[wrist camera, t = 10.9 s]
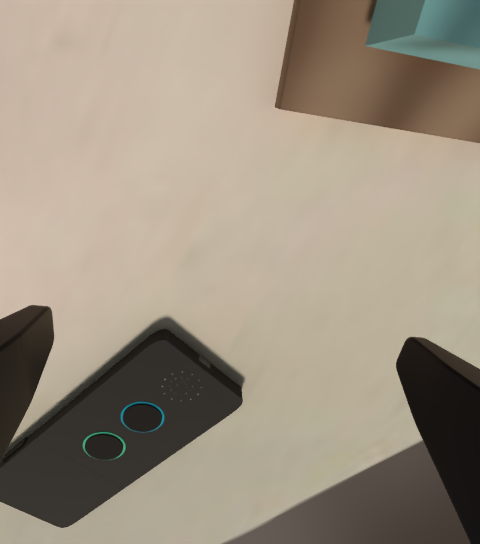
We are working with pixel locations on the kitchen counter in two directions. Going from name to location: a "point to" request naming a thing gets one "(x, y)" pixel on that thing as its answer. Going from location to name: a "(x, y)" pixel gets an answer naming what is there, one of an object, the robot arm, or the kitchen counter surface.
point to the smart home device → (117, 431)
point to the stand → (371, 76)
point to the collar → (428, 29)
